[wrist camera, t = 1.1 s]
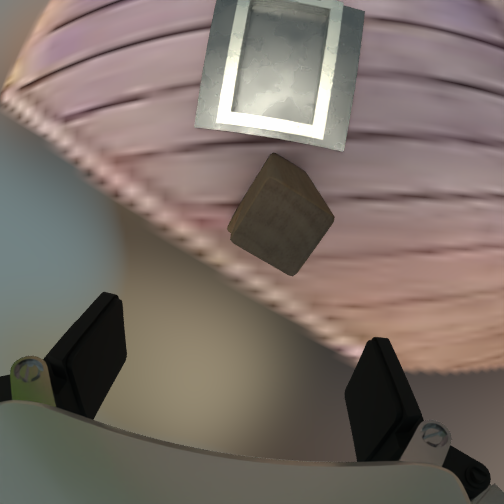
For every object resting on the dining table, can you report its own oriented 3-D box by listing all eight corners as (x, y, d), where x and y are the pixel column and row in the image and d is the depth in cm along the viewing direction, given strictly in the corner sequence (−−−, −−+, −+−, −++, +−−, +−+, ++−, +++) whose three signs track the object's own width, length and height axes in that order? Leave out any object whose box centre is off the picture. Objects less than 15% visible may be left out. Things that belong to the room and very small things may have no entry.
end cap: (362, 14, 26) (370, 3, 22) (341, 151, 32) (348, 153, 29) (220, -9, 26) (215, -21, 23) (196, 127, 32) (187, 127, 29)
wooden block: (264, 238, 37) (254, 333, 20) (231, 218, 36) (192, 299, 19) (307, 172, 33) (338, 218, 17) (272, 151, 33) (268, 173, 16)
